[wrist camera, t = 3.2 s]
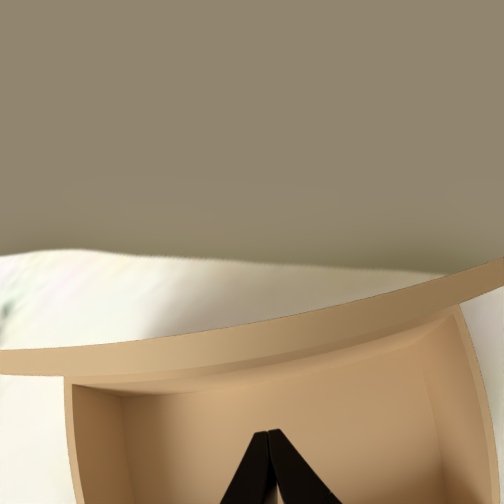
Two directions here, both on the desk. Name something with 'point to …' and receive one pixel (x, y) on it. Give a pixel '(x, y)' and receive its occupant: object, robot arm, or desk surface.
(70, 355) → the carton flap
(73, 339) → the desk surface
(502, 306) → the desk surface
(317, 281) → the desk surface
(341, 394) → the carton
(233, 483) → the robot arm
